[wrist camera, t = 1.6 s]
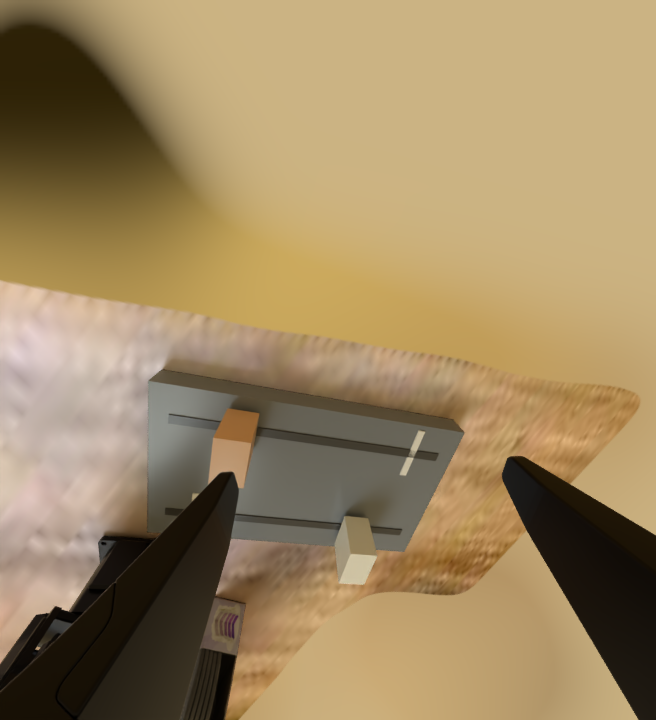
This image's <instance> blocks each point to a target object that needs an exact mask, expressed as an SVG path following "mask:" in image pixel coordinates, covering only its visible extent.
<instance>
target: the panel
mask: <svg viewBox="0 0 656 720" xmlns="http://www.w3.org/2000/svg"><path fill="white" fill-rule="evenodd" d="M227 408H229V409H236V410H242V411H249V412H255V413H259V419H258V425H257V430H256V436H255V442H254V447H253V453H252V457H251V461H250V465H249V469H248V473H247V477H246V481H245V484H244V488H239V497H238V502H237V507H236V513H235V518H234V524H233V529H232V535H231V539H243V540H256V541H269V542H282V543H295V544H308V545H321V546H334V547H335V541H336V538H337V536H338V533H339V530H340V527H341V525H342V522H343V519H344V516H351V517H361V518H368V520H369V524H370V528H371V532H372V536H373V540H374V544H375V548H376V550H386V551H399V552H404V551H405V549H406V547H407V545H408V543H409V541H410V539H411V537H412V535H413V533H414V531H415V530H416V528H417V526H418V524H419V522H420V520H421V518H422V516H423V514H424V512H425V510H426V508H427V506H428V504H429V502H430V500H431V498H432V496H433V494H434V492H435V490H436V488H437V486H438V484H439V482H440V480H441V478H442V476H443V474H444V473H445V471H446V469H447V467H448V465H449V463H450V461H451V459H452V457H453V455H454V453H455V451H456V449H457V447H458V445H459V443H460V441H461V439H462V437H463V435H464V431H463V430H462V429H461V428H460V427H459V426H458V425H457V424H456V422H455V421H454V420H452V419H446V418H440V417H435V416H429V415H423V414H417V413H411V412H405V411H400V410H394V409H388V408H382V407H376V406H371V405H365V404H359V403H353V402H347V401H341V400H336V399H330V398H324V397H318V396H312V395H307V394H301V393H295V392H289V391H283V390H277V389H272V388H266V387H260V386H254V385H248V384H243V383H237V382H231V381H225V380H219V379H214V378H208V377H202V376H196V375H190V374H184V373H179V372H173V371H167V370H161V371H159V372H158V373H157V374H156V375H155V376H153V377H152V378H151V379H150V380H149V381H148V510H147V532H153V533H162V532H163V531H164V530H165V529H166V528H167V527H168V526H169V525H170V524H171V523H172V522H173V521H174V519H175V518H176V517H177V516H178V515H179V514H180V513H181V512H182V511H183V510H184V509H185V508H186V507H187V506H188V505H189V504H190V503H191V502H192V501H193V500H194V499H195V498H196V497H197V496H198V495H199V494H200V493H201V492H202V491H203V490H204V489H205V487H206V486H207V485H208V480H209V471H210V462H211V453H212V444H213V437H214V435H215V433H216V431H217V429H218V427H219V425H220V423H221V421H222V419H223V417H224V415H225V413H226V411H227Z"/></svg>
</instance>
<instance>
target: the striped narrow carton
mask: <svg viewBox="0 0 656 720" xmlns="http://www.w3.org/2000/svg"><path fill="white" fill-rule="evenodd" d="M245 606H246V604H244V603H240V602H235V601H231V600H227V599H224V598H219V597H215V598H214V601H213V605H212V608H211V612H210V615H209V619H208V622H207V626H206V629H205V633H204V636H203V640H202V643H201V647H200V650H199V654H198V657H197V661H196V664H195V668H194V671H193V675H192V678H191V681H190V685H189V688H188V692H187V695H186V699H185V702H184V706H183V709H182V713H181V716H180V720H225V717H226V712H227V706H228V701H229V696H230V691H231V686H232V681H233V675H234V669H235V664H236V658H237V653H238V647H239V641H240V635H241V629H242V623H243V617H244V611H245Z"/></svg>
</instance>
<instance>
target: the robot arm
mask: <svg viewBox="0 0 656 720" xmlns="http://www.w3.org/2000/svg"><path fill="white" fill-rule="evenodd" d="M502 479H503V482H504V484H505V486H506V488H507V491H508V493H509V495H510V497H511V499H512V501H513V503H514V505H515V507H516V509H517V511H518V514H519V516H520V518H521V520H522V522H523V524H524V526H525V528H526V530H527V532H528V533H529V535H530V537H531V538H532V540H533V542H534V544H535V545H536V547H537V549H538V550H539V552H540V554H541V556H542V557H543V559H544V561H545V562H546V564H547V566H548V567H549V569H550V571H551V572H552V574H553V576H554V578H555V579H556V581H557V583H558V584H559V586H560V588H561V589H562V591H563V593H564V594H565V596H566V598H567V599H568V601H569V603H570V605H571V606H572V608H573V610H574V611H575V613H576V615H577V616H578V618H579V620H580V622H581V623H582V625H583V627H584V628H585V630H586V632H587V633H588V635H589V637H590V638H591V640H592V641H593V644H594V645H595V647H596V649H597V650H598V652H599V654H600V655H601V657H602V659H603V660H604V662H605V663H606V666H607V667H608V669H609V671H610V672H611V674H612V676H613V677H614V679H615V681H616V682H617V684H618V686H619V688H620V689H621V690H622V693H623V694H624V696H625V697H626V699H627V701H628V703H629V704H630V706H631V708H632V709H633V711H634V713H635V715H636V716H637V718H638V720H656V535H654V534H653V533H651V532H649V531H648V530H646V529H644V528H642V527H641V526H639V525H637V524H636V523H634V522H632V521H631V520H629V519H627V518H626V517H624V516H622V515H621V514H619V513H617V512H615V511H614V510H612V509H611V508H609V507H607V506H606V505H604V504H602V503H601V502H599V501H597V500H596V499H594V498H592V497H591V496H589V495H587V494H585V493H584V492H582V491H580V490H579V489H577V488H575V487H574V486H572V485H570V484H569V483H567V482H565V481H564V480H562V479H560V478H559V477H557V476H555V475H554V474H552V473H550V472H549V471H547V470H545V469H544V468H542V467H540V466H539V465H537V464H535V463H533V462H532V461H530V460H528V459H527V458H525V457H523V456H511V457H509V458H507V461H506V464H505V467H504V470H503V472H502ZM238 497H239V488H238V484H237V481H236V477H235V474H234V472H231V471H230V472H221V473H219V474H218V475H217V476H216V477H215V478H214V479H213V480H212V481H211V482H210V483H209V484H208V485H207V486H206V487H205V489H204V490H203V491H202V492H201V493H200V494H199V495H198V496H197V497H196V498H195V499H194V500H193V501H192V502H191V503H190V504H189V505H188V506H187V507H186V508H185V509H184V510H183V511H182V512H181V513H180V514H179V515H178V516H177V517H176V518H175V519H174V521H173V522H172V523H171V524H170V525H169V526H168V527H167V528H166V529H165V530H164V531H163V532H162V533H161V534H160V535H159V536H158V537H157V538H156V539H155V540H150V539H136V538H122V537H108V536H104V537H102V538H101V539H100V541H99V542H98V546H99V557H100V564H99V566H98V567H97V569H96V570H95V572H94V574H93V575H92V577H91V578H90V580H89V581H88V583H87V584H86V586H85V587H84V589H83V590H82V592H81V593H80V595H79V596H78V598H77V600H76V601H75V603H74V604H73V606H72V607H71V609H70V610H69V612H68V611H65V610H61V609H62V608H60V607H57V606H55V607H54V608H53V609H52V611H51V612H50V613H49V614H48V613H46V614H39V615H36V616H35V617H34V618H33V620H32V621H31V622H30V624H29V625H28V626H27V628H26V629H25V631H24V632H23V633H22V635H21V636H20V637H19V639H18V640H17V641H16V643H15V644H14V646H13V647H12V648H11V650H10V651H9V652H8V654H7V655H6V657H5V658H4V659H3V661H2V662H1V664H0V720H180V716H181V713H182V709H183V706H184V702H185V699H186V695H187V692H188V688H189V685H190V681H191V678H192V675H193V671H194V668H195V664H196V661H197V657H198V654H199V650H200V647H201V643H202V640H203V636H204V633H205V629H206V626H207V622H208V619H209V615H210V612H211V608H212V605H213V601H214V598H215V595H216V591H217V588H218V584H219V581H220V577H221V574H222V570H223V567H224V563H225V560H226V556H227V553H228V549H229V545H230V540H231V535H232V529H233V524H234V518H235V513H236V507H237V502H238ZM37 646H38V647H41V648H40V649H39V650H35V649H36V647H37Z"/></svg>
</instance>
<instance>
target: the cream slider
mask: <svg viewBox="0 0 656 720" xmlns="http://www.w3.org/2000/svg"><path fill="white" fill-rule="evenodd" d="M335 553H336V562H337V572H338V581H339V583H343V584H361V585H364V584H365V582H366V579H367V577H368V575H369V573H370V571H371V569H372V566H373V564H374V562H375V560H376V558H377V552H376V548H375V544H374V540H373V536H372V532H371V528H370V524H369V520H368V518H361V517H351V516H344V519H343V522H342V525H341V527H340V530H339V533H338V536H337V538H336V541H335Z"/></svg>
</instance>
